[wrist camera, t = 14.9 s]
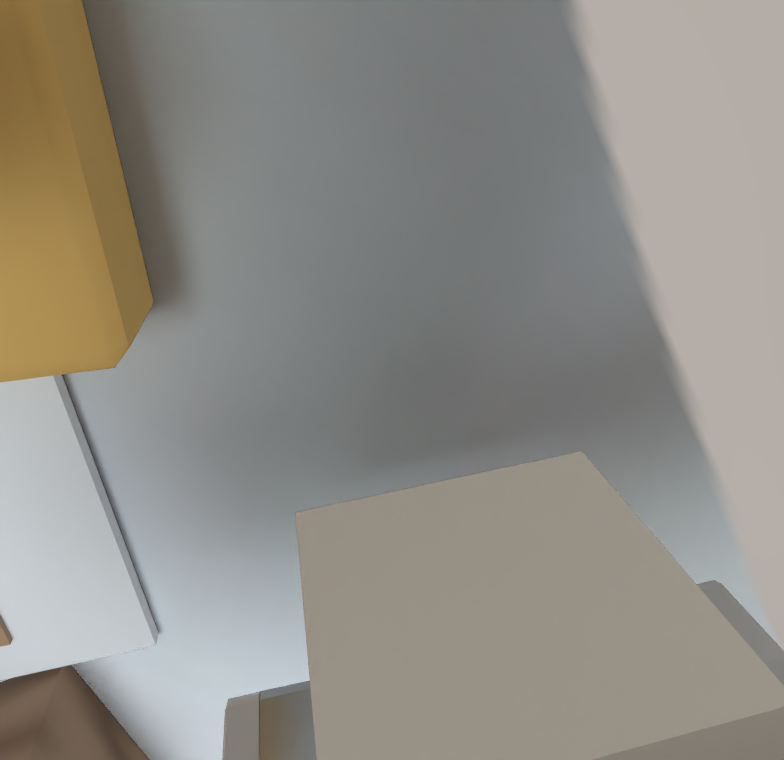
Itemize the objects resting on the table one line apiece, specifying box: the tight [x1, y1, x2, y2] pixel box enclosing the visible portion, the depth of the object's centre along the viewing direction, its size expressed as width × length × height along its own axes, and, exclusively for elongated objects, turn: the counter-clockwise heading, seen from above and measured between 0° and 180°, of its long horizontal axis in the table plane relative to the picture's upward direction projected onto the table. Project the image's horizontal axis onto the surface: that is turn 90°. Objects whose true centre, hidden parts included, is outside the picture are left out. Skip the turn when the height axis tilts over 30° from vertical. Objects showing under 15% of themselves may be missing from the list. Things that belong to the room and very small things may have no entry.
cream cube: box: [295, 451, 784, 760], centre depth 10 cm, size 5×5×5 cm
